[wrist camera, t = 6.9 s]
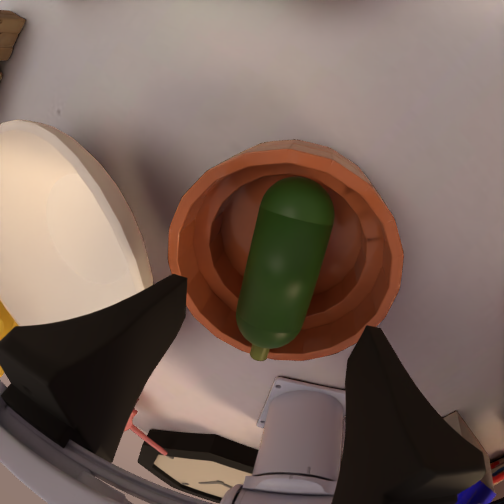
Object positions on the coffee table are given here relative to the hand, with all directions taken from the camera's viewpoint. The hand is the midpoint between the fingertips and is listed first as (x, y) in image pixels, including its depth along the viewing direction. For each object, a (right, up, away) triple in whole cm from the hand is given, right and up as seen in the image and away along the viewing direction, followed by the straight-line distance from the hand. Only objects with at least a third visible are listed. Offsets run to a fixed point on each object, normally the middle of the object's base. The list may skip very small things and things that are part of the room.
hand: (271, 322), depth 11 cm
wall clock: (-16, -24, +24) cm, 37 cm away
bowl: (-14, +5, +11) cm, 18 cm away
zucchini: (+1, +2, +5) cm, 6 cm away
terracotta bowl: (+2, +4, +7) cm, 8 cm away
